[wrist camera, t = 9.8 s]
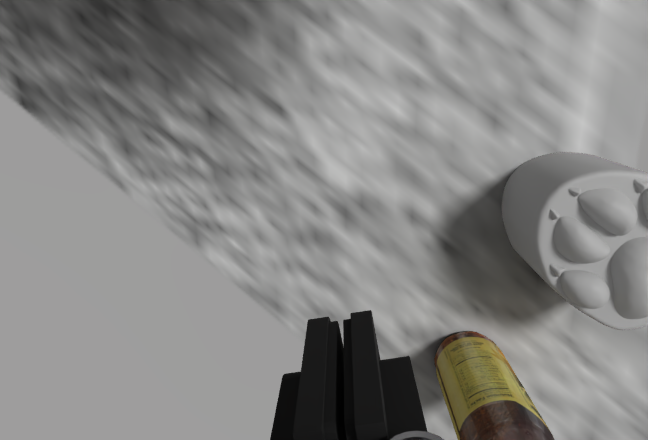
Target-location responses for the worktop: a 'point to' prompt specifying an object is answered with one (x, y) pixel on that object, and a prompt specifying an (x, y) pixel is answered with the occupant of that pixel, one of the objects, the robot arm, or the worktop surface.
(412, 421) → the robot arm
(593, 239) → the lumpy-topped squat cylinder
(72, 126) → the worktop surface
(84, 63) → the worktop surface
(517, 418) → the sauce bottle
